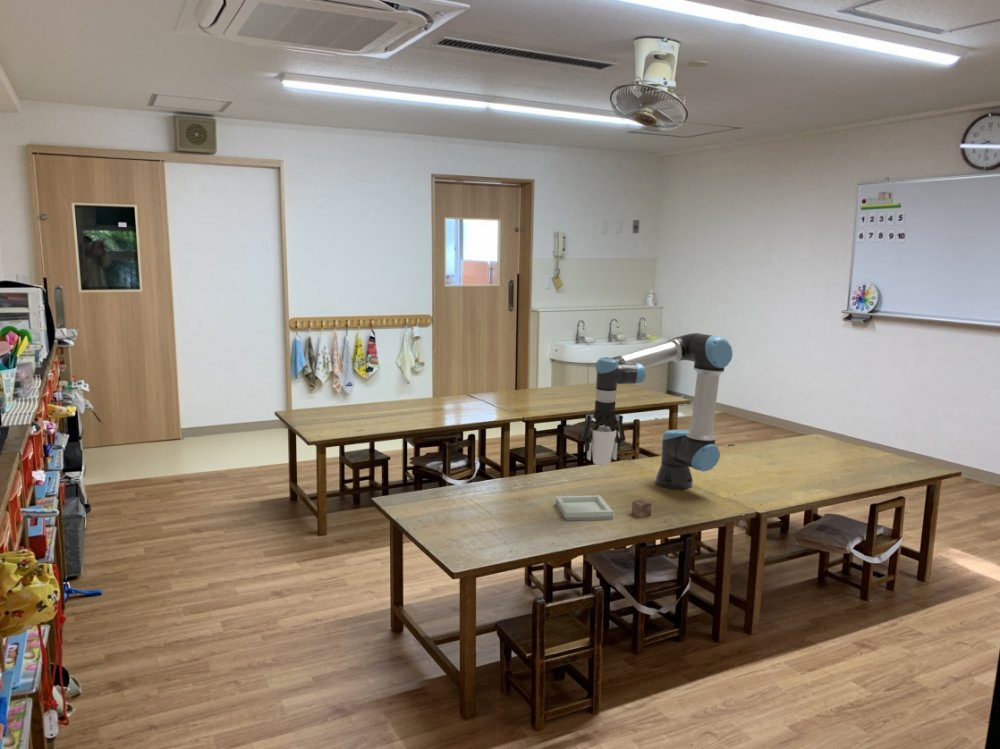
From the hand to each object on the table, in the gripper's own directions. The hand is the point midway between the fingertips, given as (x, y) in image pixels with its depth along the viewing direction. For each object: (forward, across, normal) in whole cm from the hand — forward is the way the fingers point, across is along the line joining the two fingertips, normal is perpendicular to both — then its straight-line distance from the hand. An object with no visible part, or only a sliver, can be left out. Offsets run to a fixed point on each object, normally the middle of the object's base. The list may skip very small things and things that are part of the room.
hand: (601, 458), depth 278 cm
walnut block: (+20, -15, +7) cm, 25 cm away
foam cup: (+2, 0, 0) cm, 2 cm away
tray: (+20, +6, +2) cm, 21 cm away
